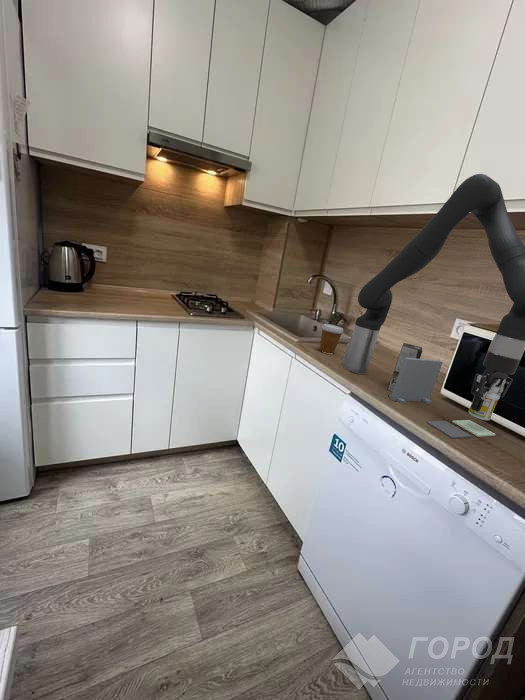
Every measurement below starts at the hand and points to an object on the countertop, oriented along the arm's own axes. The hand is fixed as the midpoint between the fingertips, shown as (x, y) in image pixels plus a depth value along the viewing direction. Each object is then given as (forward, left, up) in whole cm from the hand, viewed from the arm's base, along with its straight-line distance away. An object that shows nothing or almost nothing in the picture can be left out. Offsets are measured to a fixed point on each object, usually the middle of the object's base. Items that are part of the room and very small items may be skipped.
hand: (481, 409), depth 94 cm
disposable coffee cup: (-65, -7, -6) cm, 66 cm away
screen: (-18, -6, -6) cm, 20 cm away
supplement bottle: (0, 0, -2) cm, 2 cm away
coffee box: (-26, -3, -6) cm, 27 cm away
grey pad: (0, -11, -6) cm, 13 cm away
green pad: (0, 0, -6) cm, 6 cm away
